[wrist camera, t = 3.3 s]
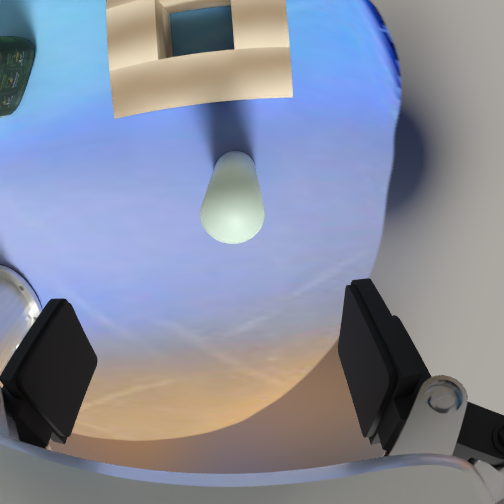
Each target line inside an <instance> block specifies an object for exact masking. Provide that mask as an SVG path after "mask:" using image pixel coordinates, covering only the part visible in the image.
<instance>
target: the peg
mask: <svg viewBox="0 0 504 504" xmlns="http://www.w3.org/2000/svg"><path fill="white" fill-rule="evenodd" d="M200 216H201V222H202V224H203V227H204V228H205V230H206V231H207V232H208V234H209V235H211V236H212V237H213V238H215V239H216V240H218V241H221V242H224V243H229V244H236V243H241V242H245V241H247V240H249V239H251V238H252V237H253V236H255V235H256V234H257V233H258V231H259V230H260V228H261V227H262V224H263V221H264V216H265V212H264V206H263V201H262V196H261V191H260V187H259V182H258V177H257V173H256V168H255V164H254V162H253V160H252V159H251V157H249V156H248V155H247V154H245V153H243V152H240V151H230V152H227V153H225V154H224V155H222V156H221V157H220V158H219V159H218V161H217V163H216V165H215V168H214V171H213V174H212V177H211V179H210V182H209V185H208V188H207V191H206V194H205V197H204V200H203V203H202V206H201V211H200Z"/></svg>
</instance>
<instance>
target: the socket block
mask: <svg viewBox="0 0 504 504" xmlns="http://www.w3.org/2000/svg"><path fill="white" fill-rule="evenodd" d="M221 6H231V10H232V23H233V36H234V49H233V50H222V51H213V52H204V53H197V54H189V55H183V56H177V57H173V50H172V36H171V21H170V14H171V13H177V12H183V11H189V10H196V9H203V8H211V7H221ZM106 16H107V42H108V58H109V71H110V82H111V92H112V101H113V109H114V117H115V119H116V118H120V117H125V116H129V115H134V114H139V113H145V112H150V111H156V110H161V109H167V108H174V107H180V106H187V105H195V104H203V103H211V102H221V101H231V100H244V99H259V98H281V97H293V90H292V74H291V59H290V46H289V34H288V22H287V12H286V1H285V0H106Z"/></svg>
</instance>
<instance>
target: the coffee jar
mask: <svg viewBox="0 0 504 504" xmlns="http://www.w3.org/2000/svg"><path fill="white" fill-rule="evenodd" d="M33 60H34V48H33V46H32V44H31V43H30V41H28V40H26V39H24V38H20V37H14V36H0V118H1V117H5V116H9V115H10V114H12V113H13V112H14V111H15V110H16V109H17V107H18V106H19V104H20V101H21V99H22V96H23V94H24V91H25V88H26V85H27V82H28V79H29V76H30V72H31V68H32V65H33Z"/></svg>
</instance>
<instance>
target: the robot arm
mask: <svg viewBox="0 0 504 504" xmlns="http://www.w3.org/2000/svg"><path fill="white" fill-rule="evenodd" d="M14 349H15V352H14V354H13V356H12V357H11V359H10V360H9V362H8V364H7V365H6V367H5V369H4V370H3V372H2V374H1V376H0V381H1V382H2V384H3V385H4V386H3V387H2V388H1V387H0V504H504V415H501V414H499V413H496V412H493V411H491V410H488V409H485V408H483V407H480V406H478V405H475V404H473V403H470V402H468V401H467V400H468V396H467V392H466V390H465V388H464V387H463V385H462V384H461V383H460V382H459V381H458V380H456V379H454V378H452V377H449V376H444V375H438V376H433V377H431V375H430V373H429V372H428V369H427V367H426V366H425V364H424V362H423V360H422V358H421V356H420V354H419V353H418V351H417V349H416V347H415V345H414V344H413V342H412V340H411V338H410V336H409V334H408V333H407V331H406V329H405V327H404V326H403V324H402V322H401V321H400V319H399V318H398V317H397V316H395V315H394V316H392V315H391V313H390V311H389V309H388V308H387V306H386V304H385V302H384V301H383V299H382V297H381V296H380V294H379V292H378V291H377V289H376V287H375V286H374V284H373V283H372V281H371V279H369V278H368V279H359V280H353V281H352V282H351V285H347V286H346V289H345V298H344V306H343V314H342V322H341V329H340V336H339V343H338V353H339V357H340V360H341V364H342V367H343V370H344V373H345V376H346V380H347V383H348V386H349V390H350V393H351V396H352V399H353V403H354V407H355V410H356V413H357V417H358V420H359V424H360V427H361V431H362V434H363V436H364V437H369V440H370V443H371V445H373V444H377V443H381V445H382V448H383V449H384V450H386V451H385V453H384V455H383V457H380V458H374V459H369V460H362V461H356V462H350V463H344V464H338V465H332V466H325V467H318V468H310V469H302V470H291V471H281V472H268V473H252V474H198V473H178V472H165V471H155V470H146V469H138V468H131V467H124V466H118V465H112V464H106V463H101V462H96V461H91V460H86V459H82V458H78V457H73V456H69V455H65V454H62V453H58V452H54V451H52V449H51V446H50V444H49V440H50V438H51V439H52V440H53V441H54V442H59V443H62V444H65V442H66V439H67V437H69V436H70V435H71V432H72V429H73V427H74V424H75V421H76V418H77V415H78V412H79V410H80V407H81V404H82V402H83V399H84V396H85V394H86V391H87V388H88V386H89V383H90V381H91V378H92V376H93V373H94V371H95V368H96V366H97V356H96V354H95V352H94V350H93V348H92V346H91V345H90V343H89V341H88V339H87V337H86V335H85V333H84V331H83V328H82V326H81V324H80V322H79V320H78V318H77V316H76V314H75V311H74V309H73V307H72V305H71V304H70V303H68V301H67V300H66V299H51V300H50V301H49V302H48V303H47V305H46V306H45V307H44V309H43V310H42V308H41V305H40V302H39V300H38V298H37V296H36V294H35V293H34V291H33V289H32V288H31V287H30V285H29V284H28V283H27V282H26V281H25V280H24V279H23V278H22V277H21V276H20V275H19V274H18V273H16V272H15V271H13V270H12V269H10V268H8V267H6V266H2V265H0V372H1V370H2V369H3V367H4V365H5V364H6V362H7V360H8V359H9V357H10V355H11V354H12V352H13V351H14Z"/></svg>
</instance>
